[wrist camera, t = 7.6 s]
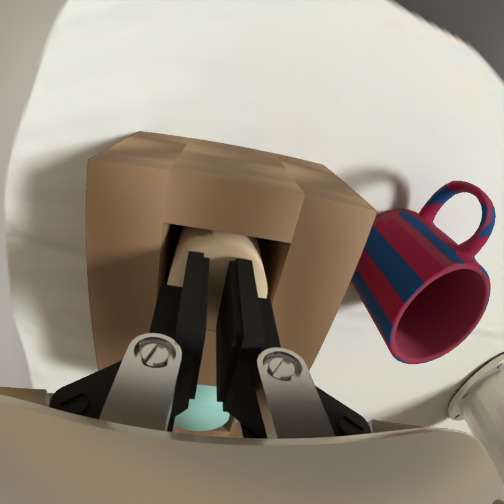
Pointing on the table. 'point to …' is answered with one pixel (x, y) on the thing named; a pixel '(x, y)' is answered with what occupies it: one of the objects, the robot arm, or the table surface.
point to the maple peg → (216, 262)
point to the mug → (424, 278)
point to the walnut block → (224, 220)
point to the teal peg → (203, 411)
